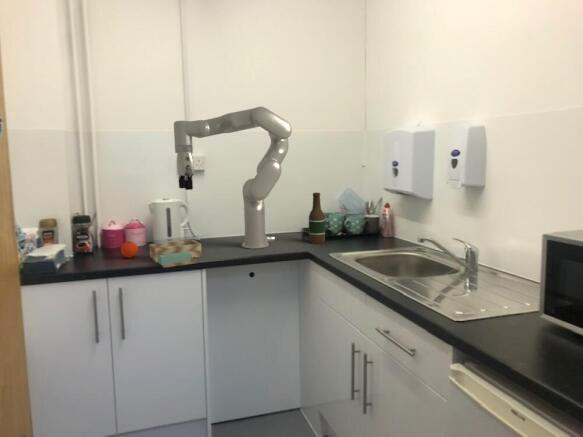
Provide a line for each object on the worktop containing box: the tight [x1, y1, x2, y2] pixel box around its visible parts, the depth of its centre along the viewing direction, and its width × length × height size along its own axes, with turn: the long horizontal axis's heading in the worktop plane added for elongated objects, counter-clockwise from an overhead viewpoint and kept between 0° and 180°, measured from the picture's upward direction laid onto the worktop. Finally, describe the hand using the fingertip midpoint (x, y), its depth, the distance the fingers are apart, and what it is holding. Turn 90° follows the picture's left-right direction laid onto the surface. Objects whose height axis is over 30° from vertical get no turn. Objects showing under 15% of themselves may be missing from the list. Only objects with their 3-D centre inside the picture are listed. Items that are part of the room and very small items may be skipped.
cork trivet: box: [159, 257, 199, 268], centre depth 189 cm, size 14×9×1 cm, turn 119°
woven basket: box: [148, 239, 203, 263], centre depth 200 cm, size 19×12×6 cm, turn 119°
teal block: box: [157, 252, 191, 266], centre depth 187 cm, size 12×4×3 cm, turn 121°
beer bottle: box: [308, 192, 326, 245], centre depth 224 cm, size 8×8×24 cm
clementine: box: [120, 241, 139, 259], centre depth 200 cm, size 8×7×7 cm
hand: (185, 188), depth 206 cm, fingers open, 9 cm apart
